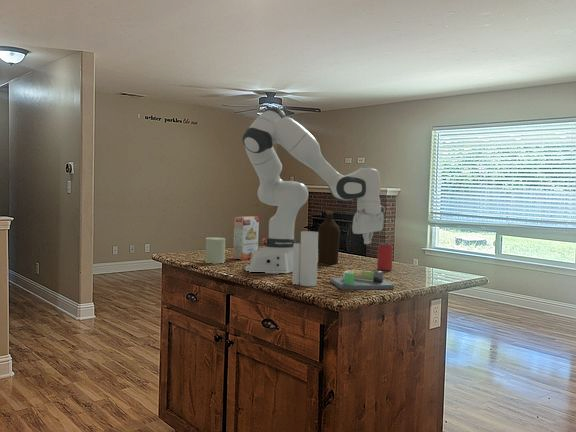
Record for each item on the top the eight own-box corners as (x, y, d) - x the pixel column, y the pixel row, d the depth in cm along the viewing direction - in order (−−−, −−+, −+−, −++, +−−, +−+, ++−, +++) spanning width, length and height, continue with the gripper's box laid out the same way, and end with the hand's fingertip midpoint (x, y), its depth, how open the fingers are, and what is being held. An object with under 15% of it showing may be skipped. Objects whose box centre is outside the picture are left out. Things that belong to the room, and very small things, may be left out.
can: (201, 262, 252) (201, 237, 251) (215, 260, 259) (216, 235, 258) (214, 265, 246) (214, 238, 245) (229, 263, 253) (229, 237, 252)
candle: (320, 284, 205) (321, 232, 204) (308, 287, 200) (310, 233, 198) (297, 280, 212) (298, 229, 211) (285, 282, 207) (286, 230, 206)
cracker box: (242, 260, 261) (243, 217, 260) (232, 259, 264) (233, 216, 263) (258, 257, 273) (259, 216, 272) (248, 256, 276) (249, 215, 275)
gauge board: (342, 289, 197) (342, 274, 196) (330, 281, 212) (330, 267, 212) (393, 289, 200) (394, 274, 200) (378, 281, 216) (379, 267, 216)
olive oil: (334, 265, 253) (335, 212, 252) (313, 263, 258) (315, 211, 257) (342, 262, 263) (343, 211, 261) (322, 260, 268) (323, 210, 266)
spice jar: (384, 281, 206) (384, 271, 206) (380, 282, 203) (380, 272, 203) (354, 277, 213) (354, 267, 213) (350, 278, 210) (350, 268, 210)
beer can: (391, 271, 241) (392, 244, 240) (376, 270, 242) (377, 243, 242) (392, 269, 248) (393, 243, 247) (377, 268, 249) (378, 242, 248)
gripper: (363, 210, 202) (362, 246, 203) (386, 208, 218) (385, 242, 219) (348, 209, 205) (347, 245, 206) (372, 207, 222) (371, 240, 223)
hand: (367, 243), depth 213 cm, fingers closed
